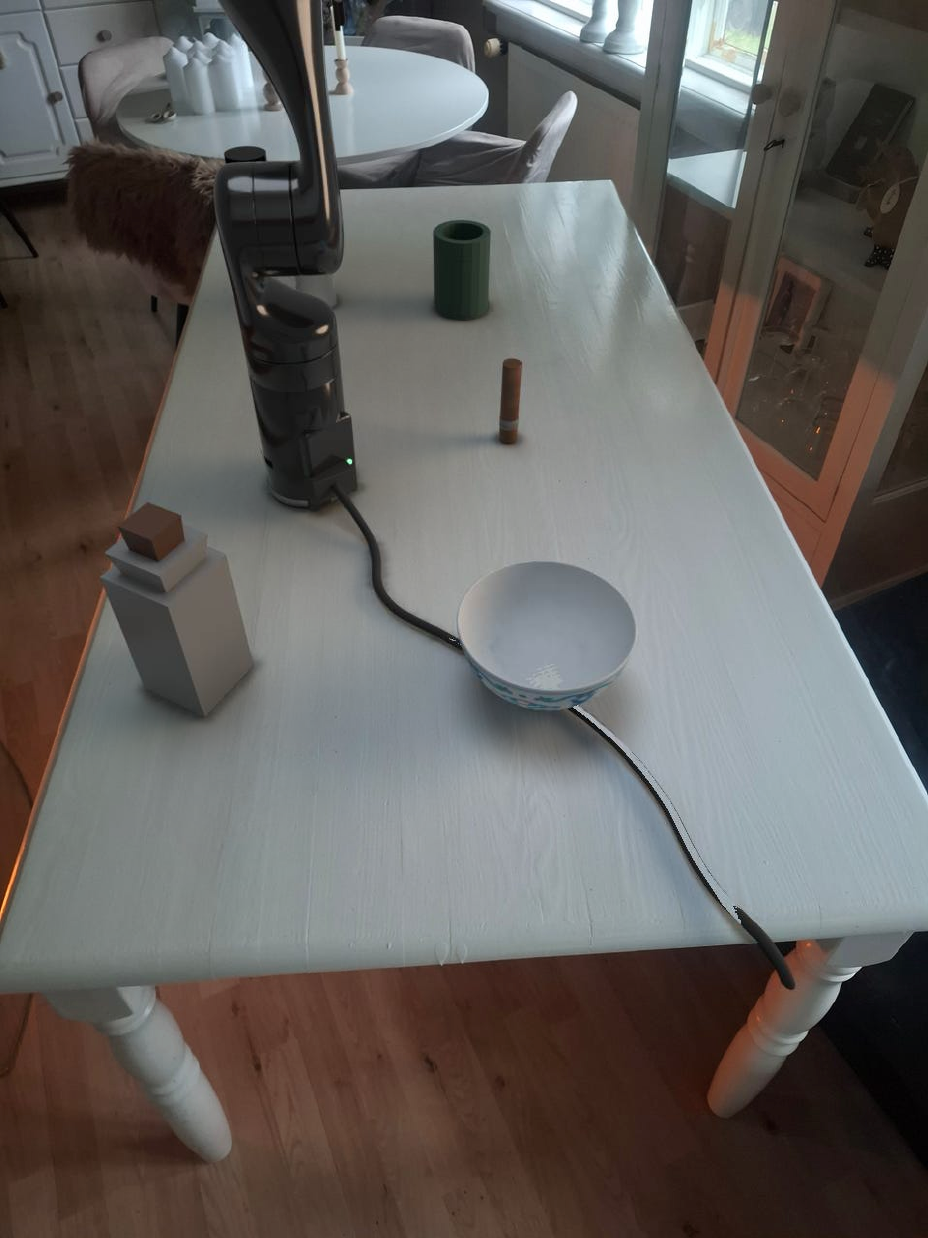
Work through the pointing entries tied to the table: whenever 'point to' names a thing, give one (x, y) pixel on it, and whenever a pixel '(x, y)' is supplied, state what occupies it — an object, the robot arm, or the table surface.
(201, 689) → the perfume bottle
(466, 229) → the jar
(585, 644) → the chinaware
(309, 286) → the beer glass
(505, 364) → the brown banded cylinder
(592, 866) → the table surface
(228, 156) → the supplement container
